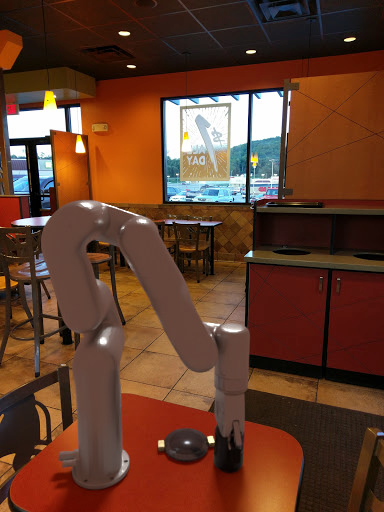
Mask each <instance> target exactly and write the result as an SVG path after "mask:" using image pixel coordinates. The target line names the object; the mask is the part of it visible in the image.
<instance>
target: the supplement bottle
mask: <svg viewBox="0 0 384 512" xmlns="http://www.w3.org/2000/svg"><path fill="white" fill-rule="evenodd" d="M231 433H233V430H231ZM213 439H214V447H213V463H214V465H215V467H216V468H217V469H218V470H219V471H221V472H223V473H227V474H234V473H237V472H239V471H240V470H241V469H242V467H243V465H244V455H245V453H244V448H245V433H244V434H243V435H242V436H241V441H242V445H241V456H240V463H237V464H226V447H227V446H228V445H227V437H223V436H222V435H221V433H220V430H219V427H218V424H217V423H216V425H215V427H214V437H213ZM230 439H231V442H234V437H230Z"/></svg>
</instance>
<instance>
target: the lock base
mask: <svg viewBox="0 0 384 512" xmlns="http://www.w3.org/2000/svg"><path fill="white" fill-rule="evenodd" d="M157 447H158V452H165V454H166V455H167V457H169V458H171V459H172V460H174V461H177V462H182V463H190V462H191V463H192V462H195V461H198V460H201V459H202V458H204V457H205V455H207V453H208V451H209V448H214V436H213V435H209V436H207V435H205V433H203V432H202V431H200V430H198V429H195V428H191V427H189V428H188V427H183V428H182V427H181V428H178V429H175V430H173V431H171V432H169V433H168V434H167V435H166V437H165V438H164V439H161V440H160V439H159V440H157Z"/></svg>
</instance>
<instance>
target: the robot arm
mask: <svg viewBox="0 0 384 512" xmlns="http://www.w3.org/2000/svg"><path fill="white" fill-rule="evenodd" d="M94 240H96V241H99V242H103V243H105V244H108V245H112V246H115V247H118V248H119V250H120V252H121V254H122V256H123V257H124V259H125V261H126V262H127V264H128V266H129V267H130V269H131V271H132V273H133V274H134V276H135V278H136V279H137V280H138V282H139V284H140V286H141V288H142V290H143V292H144V293H145V295H146V296H147V298H148V301H149V302H150V304H151V307H152V309H153V311H154V313H155V315H156V317H157V318H158V321H159V322H160V325H161V327H162V329H163V331H164V333H165V335H166V336H167V339H168V340H169V342H170V344H171V346H172V347H173V349H174V351H175V352H176V354H177V355H178V357H179V360H180V361H181V362H182V364H183V365H184V366H185V367H186V368H187V369H188V370H190V371H191V372H194V373H207V372H209V371H211V370H212V369H213V368H214V372H213V373H214V374H213V375H214V376H213V377H214V378H213V379H214V382H213V383H214V384H213V386H214V388H215V393H214V394H215V395H214V407H213V408H214V409H213V414H214V417H215V421H216V425H217V424H218V427H219V430H220V433H221V435H222V436H223V437H227V445H228V446H227V447H226V464H237V463H240V456H241V445H242V441H241V436H242V435H243V434H244V435H245V423H246V422H245V421H246V420H245V416H246V415H245V414H246V413H245V411H246V407H245V405H246V404H245V401H246V400H245V392H246V391H247V390H248V388H249V372H250V371H249V367H250V346H251V345H250V342H251V334H250V330H249V328H248V327H246V326H245V325H243V324H241V323H235V322H228V323H213V322H208V321H203V320H202V318H201V316H200V315H199V312H198V311H197V308H196V306H195V303H194V302H193V299H192V296H191V294H190V290H189V287H188V285H187V282H186V280H185V278H184V276H183V274H182V273H181V271H180V269H179V267H178V265H177V264H176V262H175V261H174V259H173V257H172V255H171V253H170V252H169V250H168V248H167V246H166V244H165V242H164V241H163V238H162V237H161V235H160V233H159V229H158V226H157V224H156V223H155V222H154V221H153V219H150V218H149V217H147V216H143V215H140V214H137V213H133V212H130V211H127V210H124V209H121V208H118V207H116V206H112V205H109V204H107V203H103V202H100V201H97V200H91V199H88V200H87V199H82V200H75V201H71V202H68V203H66V204H64V205H62V206H61V207H60V208H58V209H57V210H56V211H55V212H54V213H53V214H51V216H49V218H48V219H47V220H46V223H45V224H44V226H43V229H42V232H41V236H40V248H41V253H42V257H43V259H44V263H45V266H46V269H47V271H48V275H49V279H50V282H51V286H52V288H53V292H54V295H55V298H56V302H57V304H58V308H59V312H60V314H61V318H62V320H63V322H64V324H65V325H66V327H67V328H68V329H69V330H71V331H72V332H74V333H76V334H82V335H83V337H82V339H81V340H80V342H79V343H78V346H77V347H76V349H75V352H74V354H73V358H72V361H71V362H72V364H71V369H72V371H71V372H72V376H73V377H72V378H73V383H74V387H75V388H74V389H75V401H76V404H75V405H76V417H77V418H76V419H77V442H78V444H77V445H78V448H75V449H73V450H70V451H69V450H63V451H59V453H58V462H62V464H61V466H62V467H61V468H62V469H63V468H70V467H71V468H72V469H71V473H72V475H71V476H72V478H73V481H74V482H75V484H77V485H78V486H80V487H82V488H84V489H88V490H102V489H106V488H109V487H112V486H114V485H116V484H118V483H119V482H120V481H121V480H122V479H123V478H124V477H125V476H126V475H127V474H128V471H129V469H130V463H131V461H130V456H129V454H128V453H127V451H126V450H125V449H124V448H123V421H122V420H123V419H122V418H123V416H122V414H123V413H122V412H123V411H122V409H123V406H122V385H121V384H122V382H121V360H122V356H123V351H124V348H125V342H126V339H125V337H126V336H125V331H124V327H123V324H122V321H121V317H120V315H119V310H118V307H117V304H116V301H115V298H114V294H113V292H112V290H111V289H110V287H109V285H107V284H106V283H105V282H104V281H103V280H101V279H97V278H96V276H95V272H94V268H93V265H92V262H91V260H90V257H89V255H88V253H87V246H88V244H89V243H91V242H92V241H94ZM231 430H233V433H231ZM230 437H234V442H231V439H230Z"/></svg>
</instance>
